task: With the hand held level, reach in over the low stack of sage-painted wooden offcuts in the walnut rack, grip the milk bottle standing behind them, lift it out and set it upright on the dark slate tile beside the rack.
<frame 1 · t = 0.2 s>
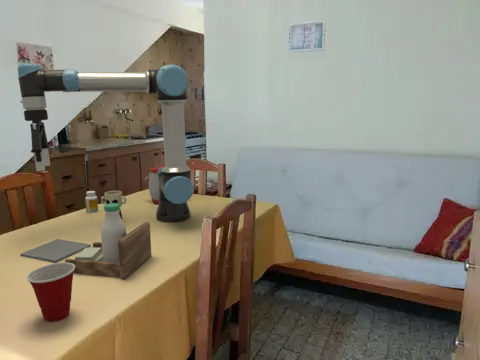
hand: (43, 168, 148), 27 cm above the table, tool pointing down, fingers open, 13 cm apart
milk bottle: (116, 265, 130), resting in walnut rack
supplement bottle: (92, 212, 192), on the table
character mug: (115, 222, 176), on the table
plastic cup: (55, 316, 100), on the table
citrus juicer: (162, 202, 209), on the table
slate tile: (56, 251, 142), on the table
offcut stack: (91, 264, 132), on the table
walnut rack: (107, 264, 130), on the table
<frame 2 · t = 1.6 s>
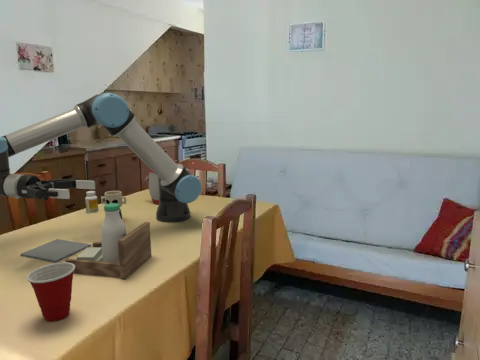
hand: (82, 189, 127), 24 cm above the table, tool horizontal, fingers open, 13 cm apart
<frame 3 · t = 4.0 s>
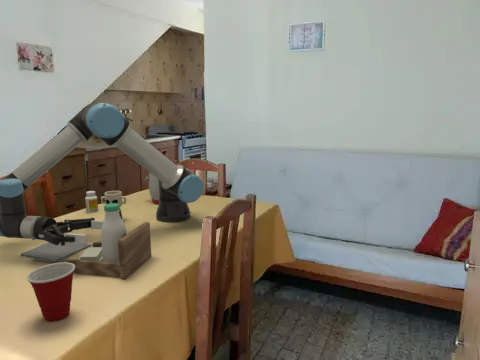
hand: (98, 232, 128), 11 cm above the table, tool horizontal, fingers open, 13 cm apart
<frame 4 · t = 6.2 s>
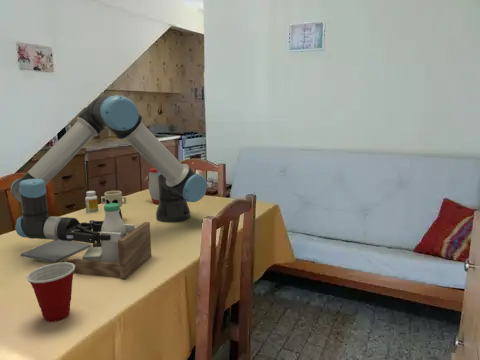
hand: (127, 233, 126), 11 cm above the table, tool horizontal, fingers closed on milk bottle, 8 cm apart
milk bottle: (116, 265, 130), resting in walnut rack, touching gripper
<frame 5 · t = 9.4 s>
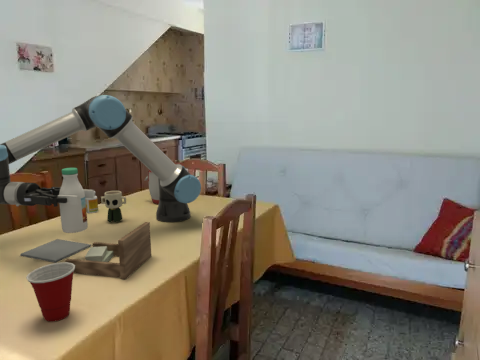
hand: (85, 197, 127), 22 cm above the table, tool horizontal, fingers closed on milk bottle, 8 cm apart
milk bottle: (75, 230, 131), point 11 cm above the table, touching gripper
when the fingers open (13 cm above the table, at t = 12.9 s): milk bottle drops 1 cm, resting on slate tile.
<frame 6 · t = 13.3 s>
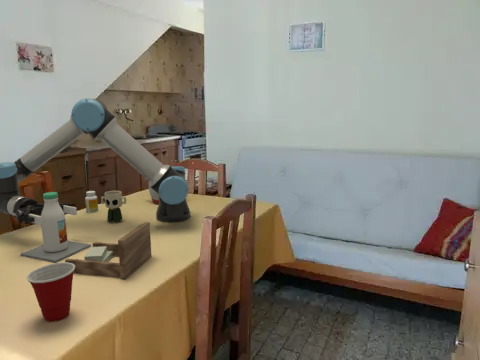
hand: (59, 216, 138), 13 cm above the table, tool horizontal, fingers open, 12 cm apart
milk bottle: (56, 249, 142), point 1 cm above the table, touching slate tile
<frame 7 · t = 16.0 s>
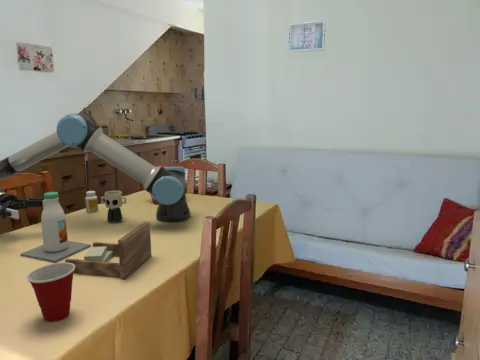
hand: (36, 210, 145), 13 cm above the table, tool horizontal, fingers open, 13 cm apart
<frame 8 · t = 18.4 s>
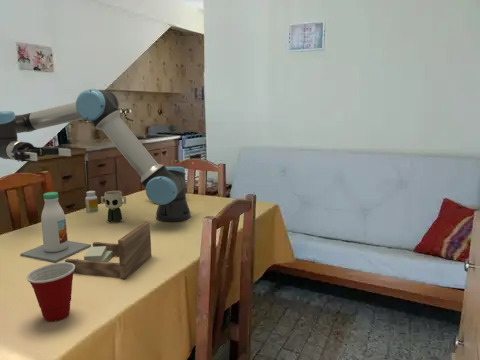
hand: (53, 154, 150), 32 cm above the table, tool horizontal, fingers open, 13 cm apart
at the end: milk bottle inside the target area on the slate tile (0.0 cm from its centre), point 0.6 cm above the slate tile's base; milk bottle tilted 0°; the gripper is holding nothing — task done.
